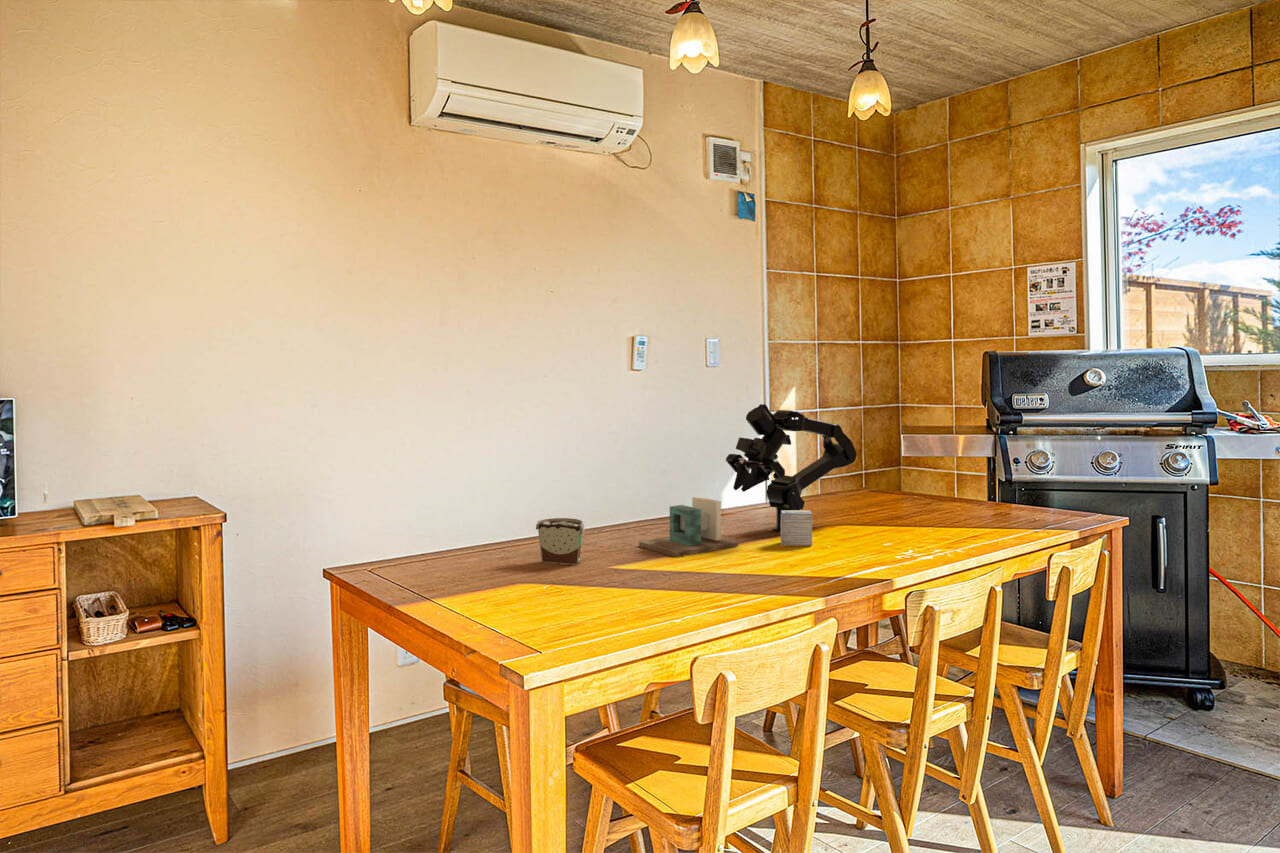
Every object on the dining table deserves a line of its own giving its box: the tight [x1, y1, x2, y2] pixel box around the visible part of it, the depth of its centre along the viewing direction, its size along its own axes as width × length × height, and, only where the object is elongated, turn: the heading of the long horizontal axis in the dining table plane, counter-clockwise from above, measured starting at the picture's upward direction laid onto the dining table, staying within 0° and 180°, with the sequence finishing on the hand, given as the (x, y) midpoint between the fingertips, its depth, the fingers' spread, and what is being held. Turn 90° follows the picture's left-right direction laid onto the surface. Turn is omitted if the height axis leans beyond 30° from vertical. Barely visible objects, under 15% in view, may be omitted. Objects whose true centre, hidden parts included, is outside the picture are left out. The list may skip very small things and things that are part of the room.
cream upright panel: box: [680, 496, 722, 540], centre depth 222 cm, size 8×10×10 cm
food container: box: [535, 517, 586, 566], centre depth 206 cm, size 12×6×10 cm, turn 71°
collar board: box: [638, 504, 739, 558], centre depth 220 cm, size 20×16×10 cm
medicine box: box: [780, 509, 813, 547], centre depth 221 cm, size 8×4×9 cm, turn 84°
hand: (738, 489), depth 229 cm, fingers open, 3 cm apart
